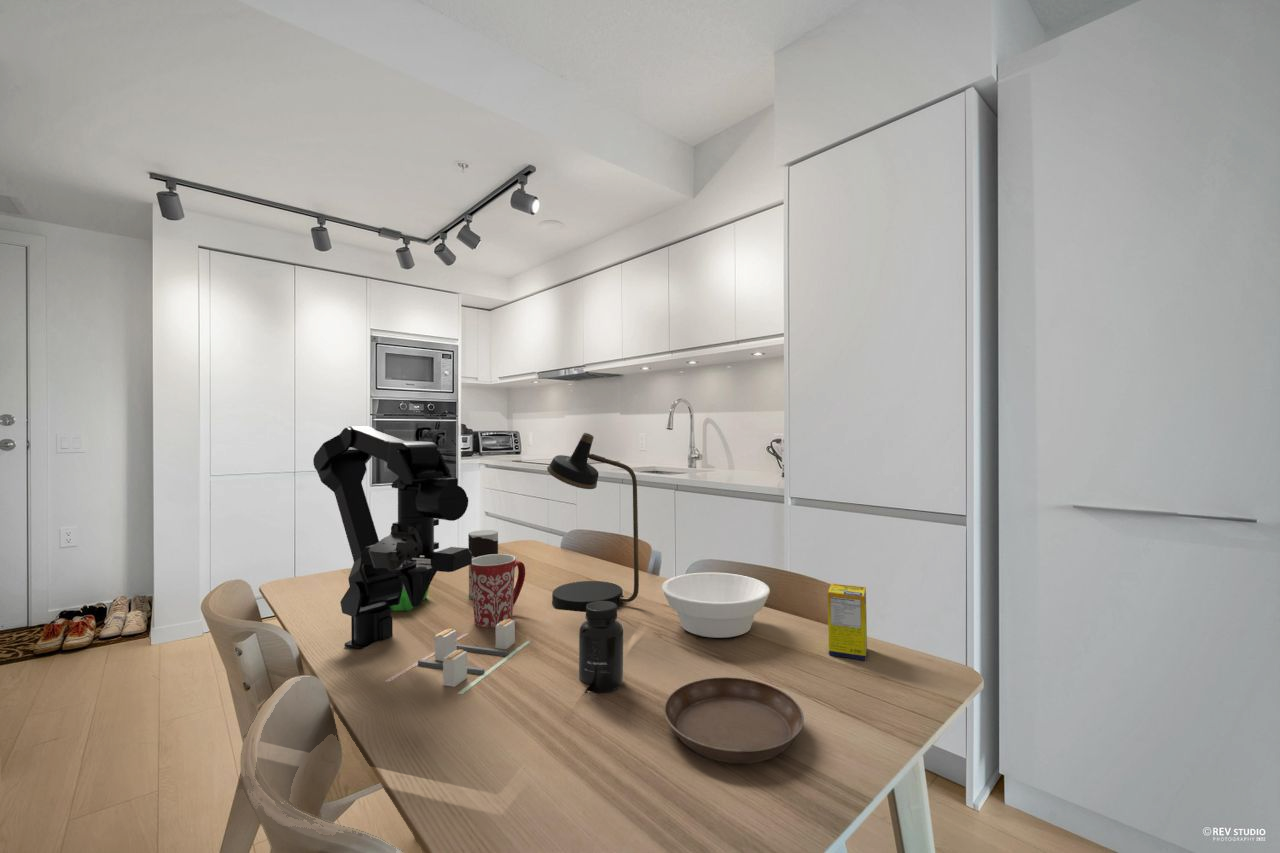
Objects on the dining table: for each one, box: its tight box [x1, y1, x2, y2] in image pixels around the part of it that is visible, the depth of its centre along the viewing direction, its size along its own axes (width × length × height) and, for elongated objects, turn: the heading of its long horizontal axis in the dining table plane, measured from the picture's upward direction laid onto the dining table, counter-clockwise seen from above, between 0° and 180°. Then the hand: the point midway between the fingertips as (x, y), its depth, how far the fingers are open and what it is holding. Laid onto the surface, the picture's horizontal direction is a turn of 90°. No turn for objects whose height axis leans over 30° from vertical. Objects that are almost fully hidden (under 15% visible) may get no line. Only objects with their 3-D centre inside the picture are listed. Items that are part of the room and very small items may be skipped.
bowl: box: [661, 572, 771, 639], centre depth 105 cm, size 21×21×8 cm
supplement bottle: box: [578, 601, 624, 694], centre depth 82 cm, size 7×7×12 cm
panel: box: [384, 632, 532, 695], centre depth 88 cm, size 14×22×2 cm, turn 163°
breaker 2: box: [495, 618, 516, 651], centre depth 94 cm, size 2×3×4 cm, turn 163°
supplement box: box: [827, 583, 868, 661], centre depth 93 cm, size 6×6×11 cm
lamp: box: [546, 432, 640, 613], centre depth 121 cm, size 16×22×38 cm
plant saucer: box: [663, 676, 805, 764], centre depth 69 cm, size 18×18×3 cm
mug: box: [470, 553, 526, 628], centre depth 108 cm, size 13×9×14 cm
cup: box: [467, 529, 499, 600], centre depth 126 cm, size 7×7×15 cm
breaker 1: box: [442, 649, 468, 688], centre depth 80 cm, size 2×3×4 cm, turn 163°
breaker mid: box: [434, 628, 458, 662], centre depth 89 cm, size 2×3×4 cm, turn 163°
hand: (416, 606), depth 91 cm, fingers closed
